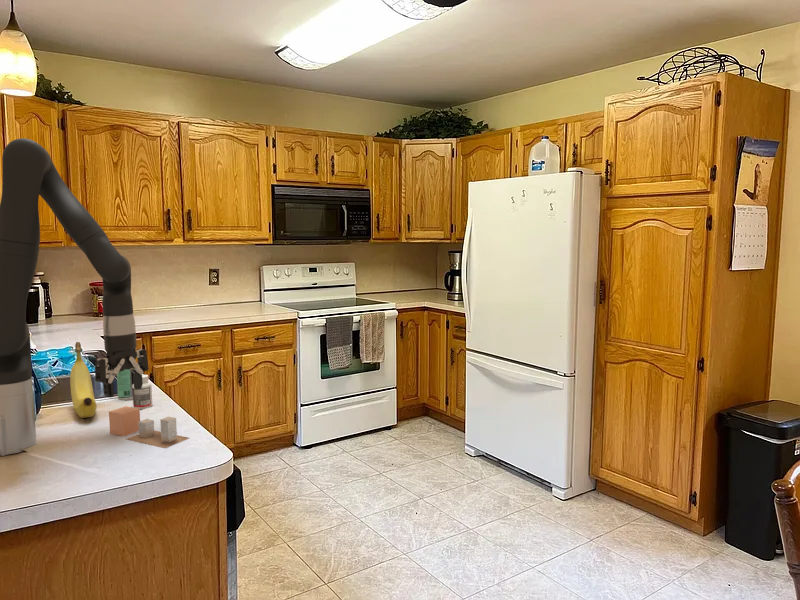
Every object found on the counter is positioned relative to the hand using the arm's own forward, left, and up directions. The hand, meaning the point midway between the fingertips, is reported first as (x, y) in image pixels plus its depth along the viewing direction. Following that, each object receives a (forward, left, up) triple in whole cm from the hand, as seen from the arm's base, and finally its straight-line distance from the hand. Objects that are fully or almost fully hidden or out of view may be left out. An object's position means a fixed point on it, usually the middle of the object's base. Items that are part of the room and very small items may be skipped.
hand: (124, 392), depth 153 cm
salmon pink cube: (0, 0, -11) cm, 11 cm away
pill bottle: (+19, +16, -12) cm, 27 cm away
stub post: (0, -8, -11) cm, 13 cm away
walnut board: (0, -12, -11) cm, 16 cm away
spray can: (+24, +29, -12) cm, 39 cm away
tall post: (0, -16, -11) cm, 19 cm away
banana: (+7, +26, -12) cm, 29 cm away
